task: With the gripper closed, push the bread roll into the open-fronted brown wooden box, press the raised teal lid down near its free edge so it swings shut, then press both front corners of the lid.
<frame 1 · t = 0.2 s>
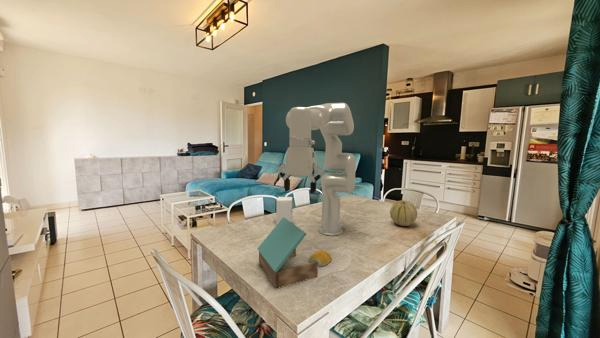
hand: (299, 191, 87), 31 cm above the table, tool pointing down, fingers open, 9 cm apart
supplement box: (284, 223, 144), on the table
cantaloupe: (402, 225, 143), on the table
lid: (280, 241, 90), point 12 cm above the table, hinge at 45.0°
brown wooden box: (286, 269, 93), on the table
bread roll: (320, 262, 100), on the table
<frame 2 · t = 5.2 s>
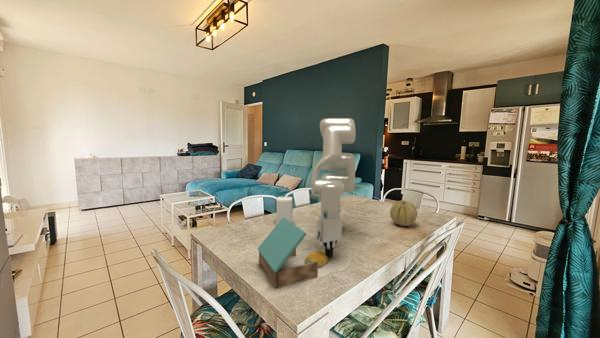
hand: (329, 256, 101), 1 cm above the table, tool pointing down, fingers closed
bread roll: (316, 263, 99), on the table, touching gripper
everything else where it was.
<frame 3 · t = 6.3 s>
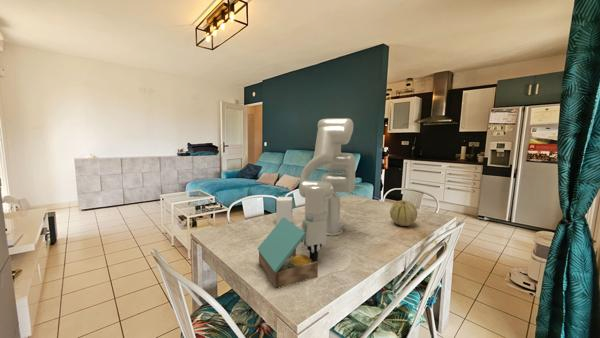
hand: (313, 260, 98), 1 cm above the table, tool pointing down, fingers closed
bread roll: (299, 266, 96), resting in brown wooden box
everything else where it was.
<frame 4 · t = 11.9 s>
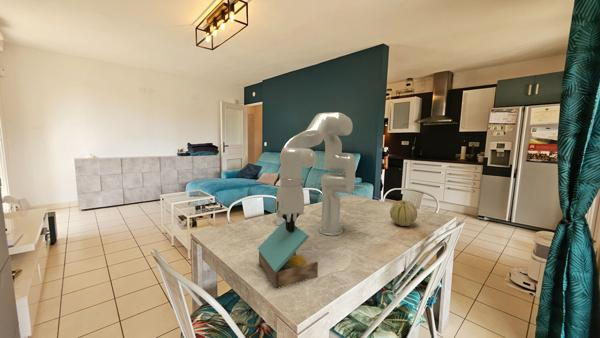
hand: (290, 231, 91), 15 cm above the table, tool pointing down, fingers closed
lid: (281, 242, 91), point 11 cm above the table, hinge at 39.7°, touching gripper
bread roll: (294, 267, 95), resting in brown wooden box
everything else where it was.
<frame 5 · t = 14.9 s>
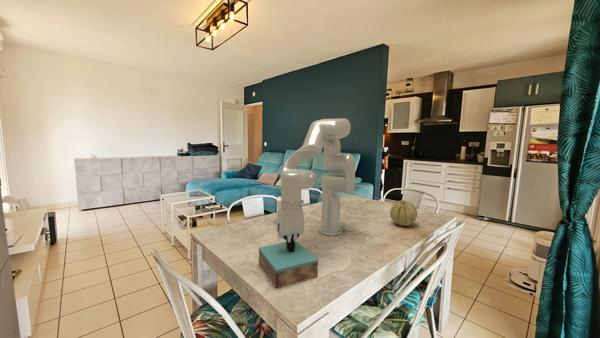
hand: (290, 250, 94), 7 cm above the table, tool pointing down, fingers closed
lid: (286, 254, 92), point 6 cm above the table, hinge at -0.3°, touching gripper
everything else where it was.
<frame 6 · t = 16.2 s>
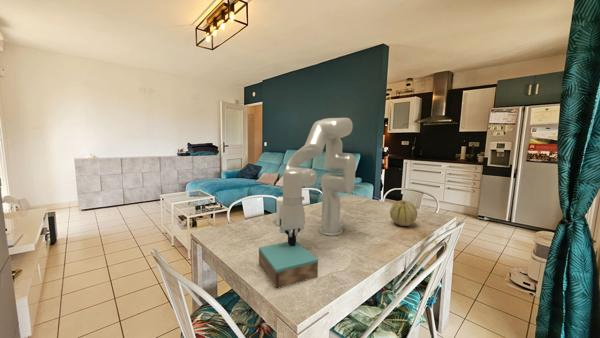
hand: (291, 244, 99), 7 cm above the table, tool pointing down, fingers closed
nothing on the table moved.
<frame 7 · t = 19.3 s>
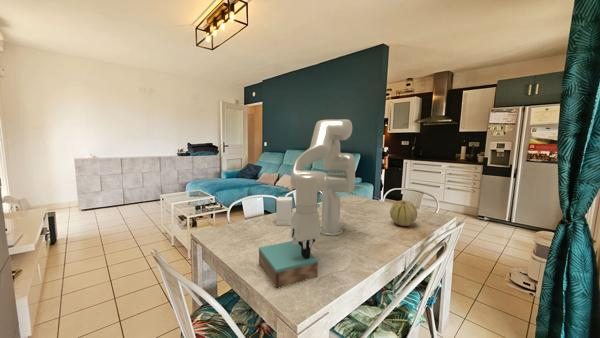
hand: (305, 257, 89), 7 cm above the table, tool pointing down, fingers closed
lid: (286, 254, 92), point 6 cm above the table, hinge at -0.3°
everything else where it was.
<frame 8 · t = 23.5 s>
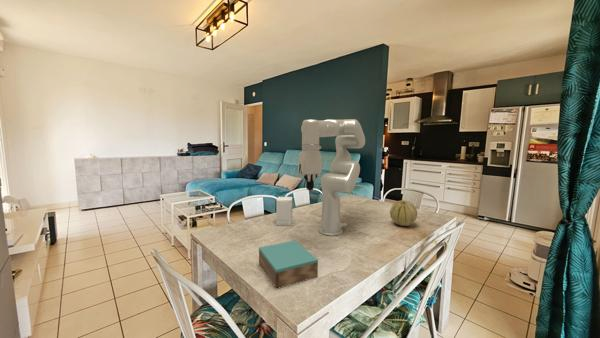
hand: (309, 189, 109), 27 cm above the table, tool pointing down, fingers closed
nothing on the table moved.
at the end: lid at +0° (first picture: +45°); bread roll inside the target area on the brown wooden box (3.4 cm from its centre), point -0.5 cm above the brown wooden box's base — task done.
